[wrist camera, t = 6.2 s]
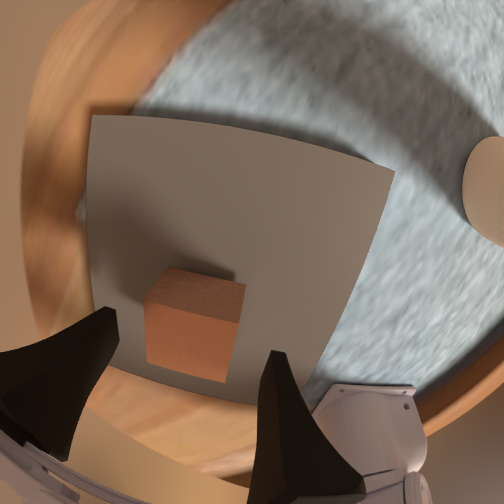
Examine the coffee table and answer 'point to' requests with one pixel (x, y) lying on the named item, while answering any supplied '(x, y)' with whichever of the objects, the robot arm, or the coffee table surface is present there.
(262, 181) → the base
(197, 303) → the orange rectangular block
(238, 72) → the coffee table surface
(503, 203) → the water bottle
